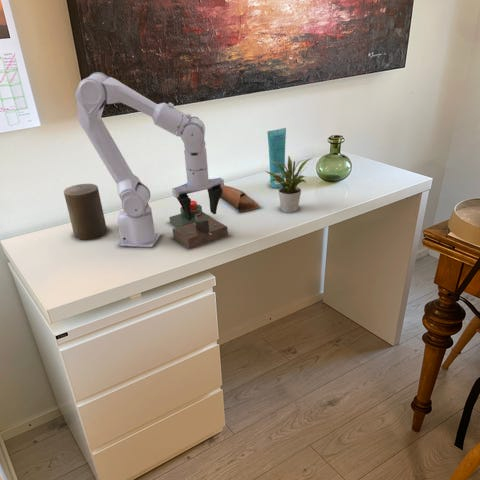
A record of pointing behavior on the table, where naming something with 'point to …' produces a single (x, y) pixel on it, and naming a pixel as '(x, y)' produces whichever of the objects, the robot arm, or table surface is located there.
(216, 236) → the console
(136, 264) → the table surface
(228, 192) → the sunglasses case
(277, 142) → the tube
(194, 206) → the button
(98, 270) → the table surface
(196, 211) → the button box
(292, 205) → the house plant
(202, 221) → the dark grey red block
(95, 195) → the pillar candle
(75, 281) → the table surface
